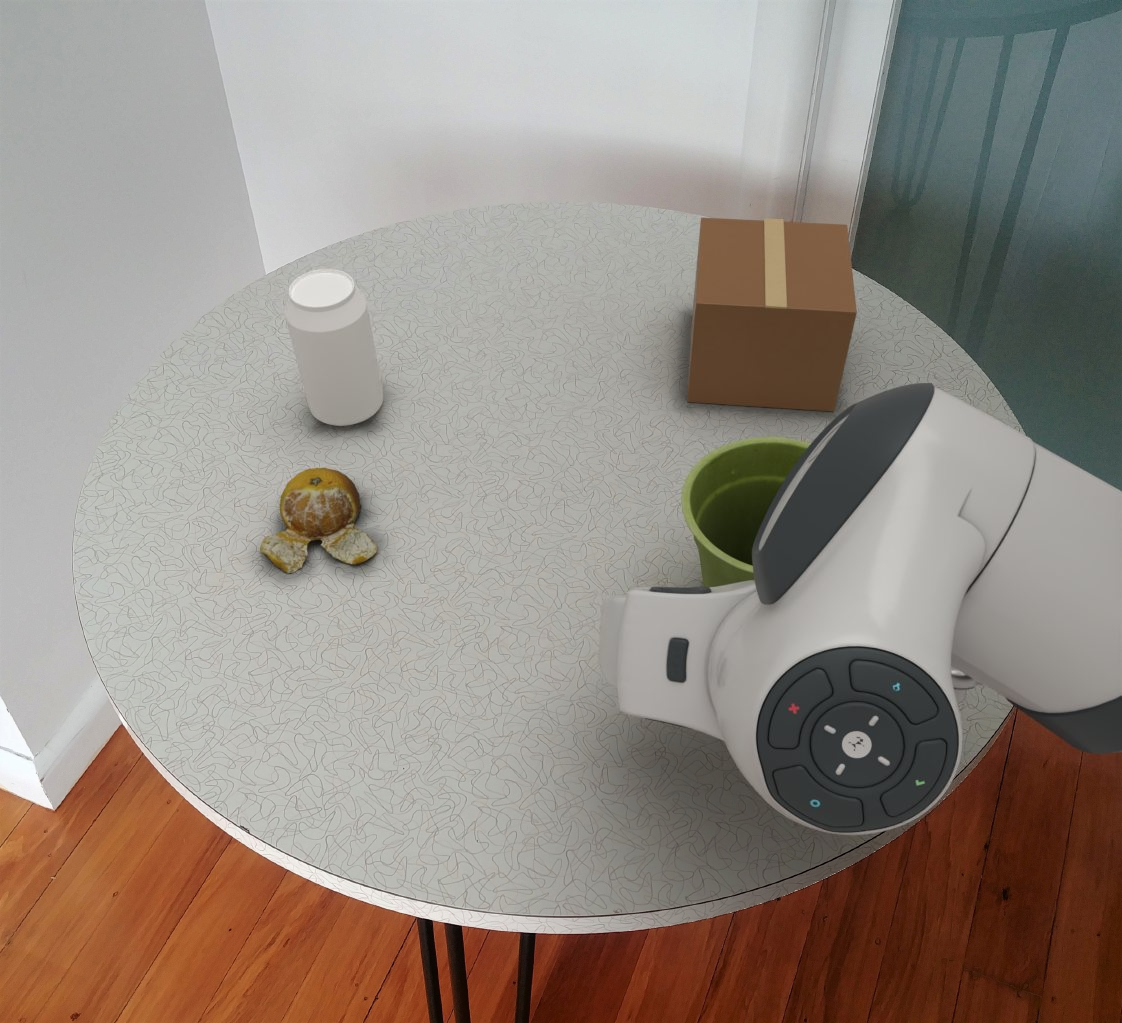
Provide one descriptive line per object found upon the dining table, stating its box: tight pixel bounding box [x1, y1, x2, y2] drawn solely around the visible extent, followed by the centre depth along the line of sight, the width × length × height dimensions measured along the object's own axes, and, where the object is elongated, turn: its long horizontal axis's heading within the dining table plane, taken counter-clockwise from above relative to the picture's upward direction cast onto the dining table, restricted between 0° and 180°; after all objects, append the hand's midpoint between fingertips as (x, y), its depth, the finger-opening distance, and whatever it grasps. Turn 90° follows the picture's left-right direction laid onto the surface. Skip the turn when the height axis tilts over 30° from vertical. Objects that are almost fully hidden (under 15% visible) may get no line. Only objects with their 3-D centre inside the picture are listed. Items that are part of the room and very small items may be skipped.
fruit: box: [260, 467, 378, 574], centre depth 78 cm, size 8×8×4 cm
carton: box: [686, 217, 858, 413], centre depth 87 cm, size 12×12×10 cm
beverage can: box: [284, 268, 384, 427], centre depth 84 cm, size 6×6×12 cm
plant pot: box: [680, 436, 812, 588], centre depth 69 cm, size 12×12×11 cm
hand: (763, 628), depth 66 cm, fingers closed, pressing on plant pot
